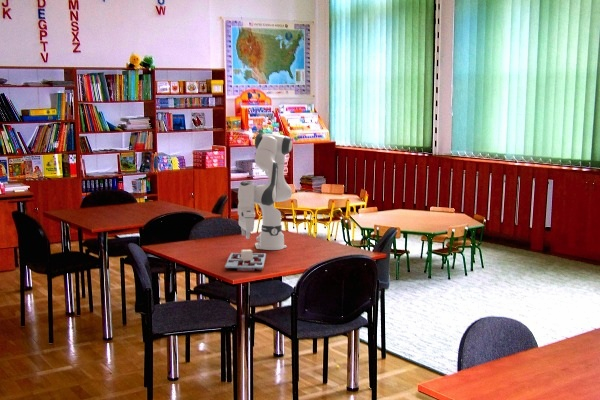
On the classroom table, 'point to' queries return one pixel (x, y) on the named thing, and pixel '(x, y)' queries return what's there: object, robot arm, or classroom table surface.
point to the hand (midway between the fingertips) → (245, 237)
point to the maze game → (246, 262)
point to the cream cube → (246, 255)
